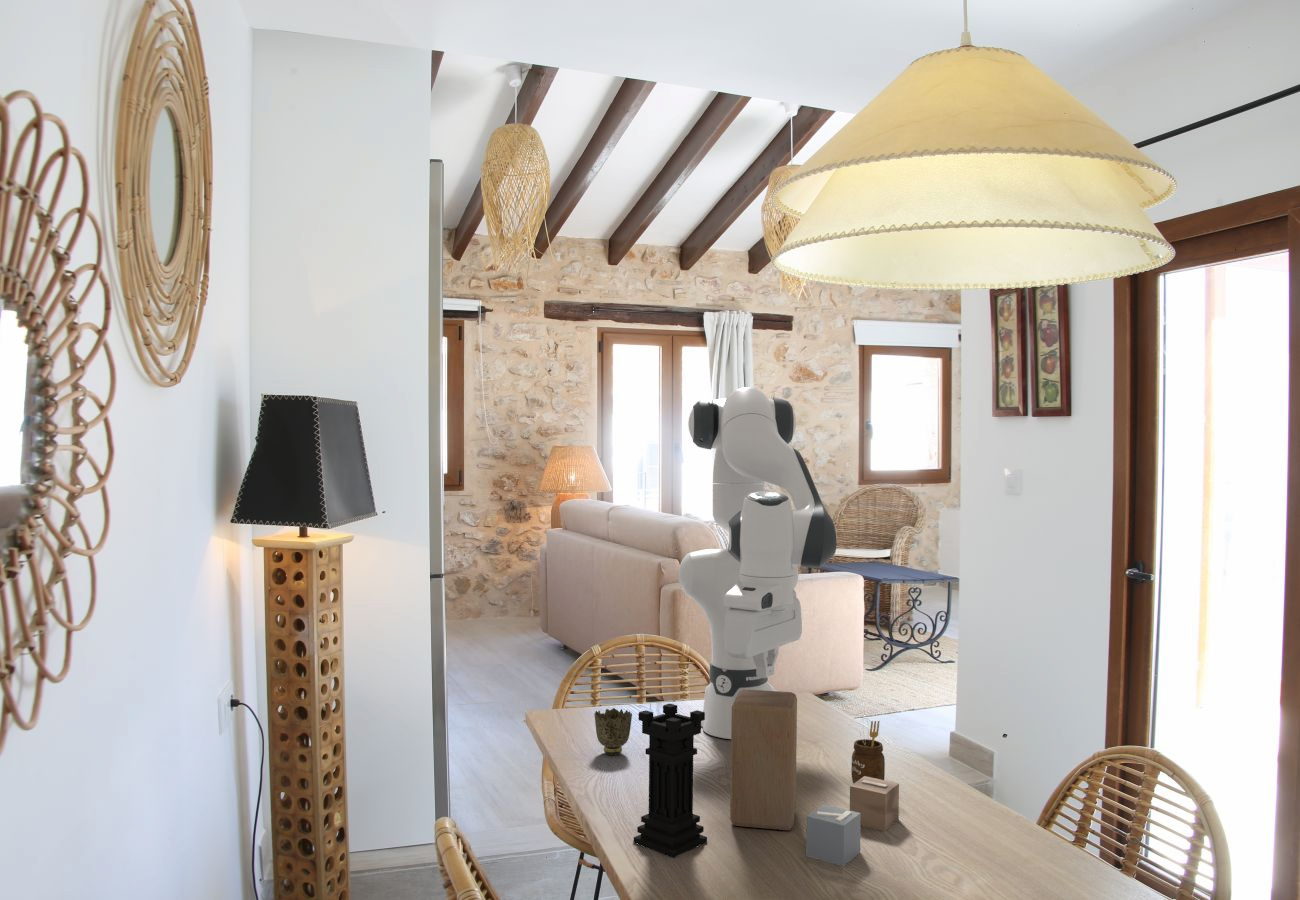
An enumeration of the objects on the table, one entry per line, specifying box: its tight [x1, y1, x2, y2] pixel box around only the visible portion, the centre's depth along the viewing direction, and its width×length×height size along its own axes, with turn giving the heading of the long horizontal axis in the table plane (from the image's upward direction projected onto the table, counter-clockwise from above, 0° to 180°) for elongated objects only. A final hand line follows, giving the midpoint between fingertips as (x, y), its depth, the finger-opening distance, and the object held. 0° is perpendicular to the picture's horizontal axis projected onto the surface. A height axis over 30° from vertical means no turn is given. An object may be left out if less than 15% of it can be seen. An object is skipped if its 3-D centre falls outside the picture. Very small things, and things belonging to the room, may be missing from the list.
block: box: [729, 689, 798, 831], centre depth 159 cm, size 10×10×20 cm
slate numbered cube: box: [805, 804, 861, 867], centre depth 145 cm, size 6×6×6 cm
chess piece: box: [633, 703, 708, 859], centre depth 149 cm, size 8×8×20 cm
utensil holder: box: [850, 717, 886, 783], centre depth 177 cm, size 6×6×12 cm
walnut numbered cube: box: [849, 776, 900, 832], centre depth 159 cm, size 6×6×6 cm
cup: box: [593, 707, 633, 756], centre depth 192 cm, size 8×7×8 cm
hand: (765, 676), depth 159 cm, fingers closed
